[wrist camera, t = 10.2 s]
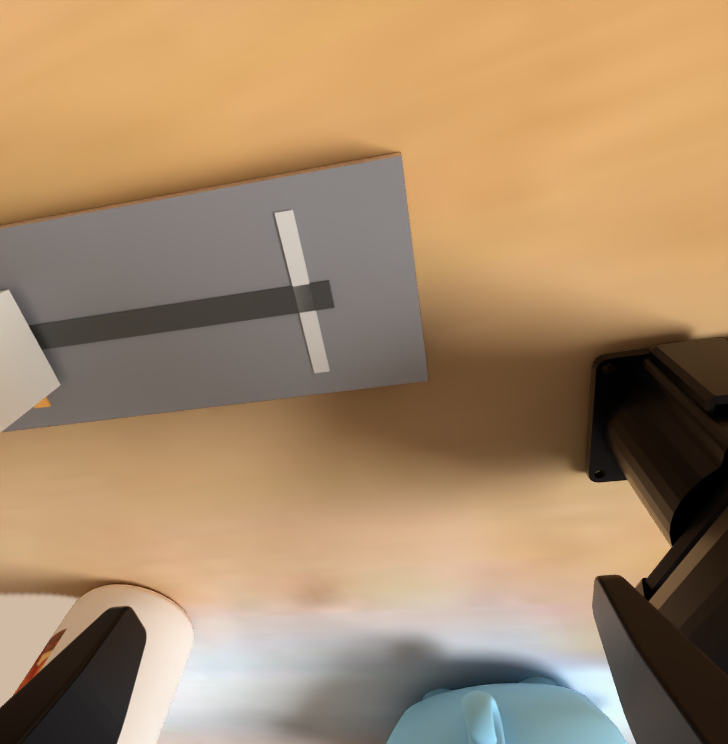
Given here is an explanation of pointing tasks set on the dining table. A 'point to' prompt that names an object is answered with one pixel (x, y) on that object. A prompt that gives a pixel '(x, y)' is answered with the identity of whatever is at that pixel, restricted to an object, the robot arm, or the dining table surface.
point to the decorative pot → (506, 716)
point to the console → (222, 294)
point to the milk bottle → (159, 661)
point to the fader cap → (20, 365)
